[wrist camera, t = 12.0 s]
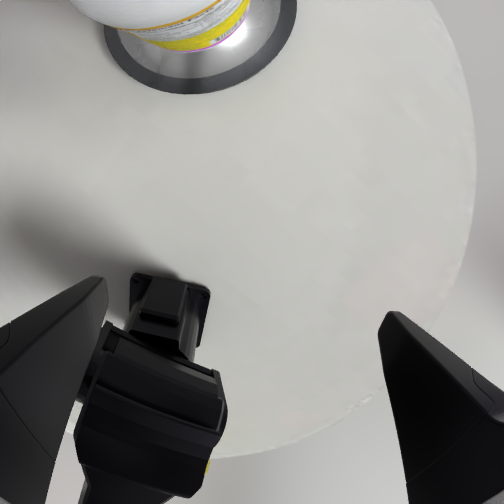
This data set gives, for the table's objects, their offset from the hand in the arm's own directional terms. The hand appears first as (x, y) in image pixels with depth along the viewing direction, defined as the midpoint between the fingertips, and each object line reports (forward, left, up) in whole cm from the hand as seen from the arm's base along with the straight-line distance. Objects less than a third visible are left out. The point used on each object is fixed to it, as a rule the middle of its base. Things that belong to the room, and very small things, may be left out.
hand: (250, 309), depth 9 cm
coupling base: (+11, +6, -13) cm, 18 cm away
